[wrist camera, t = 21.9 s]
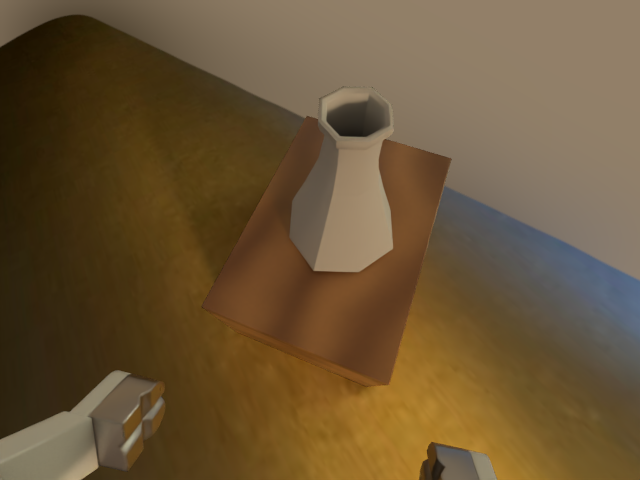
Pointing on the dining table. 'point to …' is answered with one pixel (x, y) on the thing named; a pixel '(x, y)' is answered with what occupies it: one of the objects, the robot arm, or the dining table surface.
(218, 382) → the dining table surface
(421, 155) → the shelf
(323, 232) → the flask
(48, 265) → the dining table surface
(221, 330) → the dining table surface
